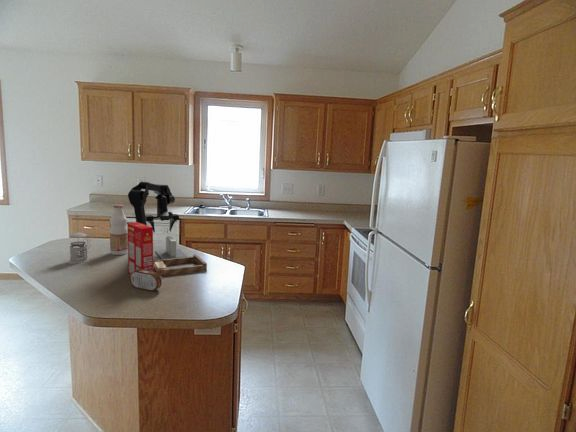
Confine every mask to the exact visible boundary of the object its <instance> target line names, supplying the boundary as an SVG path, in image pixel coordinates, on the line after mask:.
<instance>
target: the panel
mask: <svg viewBox="0 0 576 432" xmlns="http://www.w3.org/2000/svg"><path fill="white" fill-rule="evenodd" d="M176 249H177V240H176V239H175V238H174V237H173V236H172V235H170V236H169V235H168V236H166V237H165V250H166V252H167V253H168V254H169V255H170V256H171V257H173V256H176Z"/></svg>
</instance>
